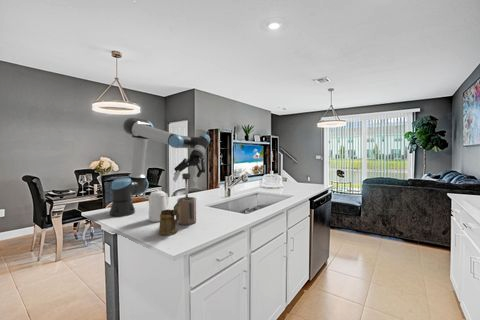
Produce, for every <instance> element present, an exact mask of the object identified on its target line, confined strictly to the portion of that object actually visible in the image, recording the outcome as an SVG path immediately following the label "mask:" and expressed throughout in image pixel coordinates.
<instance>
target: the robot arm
mask: <svg viewBox="0 0 480 320" xmlns="http://www.w3.org/2000/svg"><path fill="white" fill-rule="evenodd" d="M122 127H123V131H124V132H125V133H126V134H128V135H130V136H131V139H133V150H132V161H131V170H130V171H131V172H130V174H128V176H127V177H120V178H116V179H114V180H113V181H112V182H111V188H110V189H111V206H110V209H109V217H115V218H116V217H117V218H118V217H124V216H125V217H127V216H130V215H133V214H135V212H136V209H135V207H134V204H133V201H132V199H133V197H132V196H136V195H141V194H143V193H145V192H147V190H148V188H149V185H150V184H149V181H148V178H147V176H146V174H145V167H146V156H147V146H148V141H149V140H153V141H156V142H159V143H161V144H166V145H169V146H170V147H171V148H174V149H192V151H191V153H190V154H189V157H188V158H186V157H184V158H183V159H182V161H181V162H180V163H178V164H177V165H176V166H175V167H174V168H173V169H174V171H175V172H174V175H173V178H172V180H173V181H174V182H175V183H176V182H177V180H178V179H179V176H180V174H181V172H183V171H184V170H185V169H187V168H189V167H196V168H197V169H198V170H196V172H195V174H194V176H193V179H192V180H193V181H192V182H194V184H196V183H197V181H198V179H199V178H200V177H201V175H202V173H204V174H205V173H206V166H205V163H206V161H205V159H204V155H205V154H206V151H207V149H208V147H209V145H210V142H211V137H210V136H209V135H208V134H206V133H202V134H200V135H199V136H187V135H178V134H176V133H172V132H168V131H165V130H164V129H163V130H162V129H159V128H156V127H154V125H153V123H152V122H151V121H150V120H147V119H142V118H137V117H130V118H127V119H125V120H124V122H123V125H122ZM199 164H201V166H200V165H199Z"/></svg>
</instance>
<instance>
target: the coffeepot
mask: <svg viewBox="0 0 480 320" xmlns="http://www.w3.org/2000/svg"><path fill="white" fill-rule="evenodd" d="M144 198H148V221H149V222H153V223H160V214H161V211H163V210H168V205H169V195H168V193H167V192H165V191H162V190H160V189H159V188H156V189H155V191H151V192H150V194H149V195H148V194H147V195H146V194H145V196H144Z"/></svg>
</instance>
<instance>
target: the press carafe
mask: <svg viewBox="0 0 480 320" xmlns="http://www.w3.org/2000/svg"><path fill="white" fill-rule="evenodd" d="M181 199H183V203H182V205H181V206H180V207H179V208H178V212H179V220H178V222H177V224H178V225H180V226H191V225H195V224H196V223H197V198H196V197H194V196H188V200H186V198H185V196H184V197H179V198H178V199H177V200H176V201H177V202H178V201H180V200H181ZM177 202H176V203H177Z"/></svg>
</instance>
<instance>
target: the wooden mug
mask: <svg viewBox="0 0 480 320" xmlns="http://www.w3.org/2000/svg"><path fill="white" fill-rule="evenodd" d="M182 203H183V199H181V200H180V201H178V202H176V203H175V204H174V206H173V209H167V210H163V211H161V214H160V222H159V227H158V233H157V234H158V236H161V237H163V236H164V237H167V236H172V235H175V234H177V232H178V227H177V224H178V220H179V212H178V208H179V207H180V206H181V205H182Z"/></svg>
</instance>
